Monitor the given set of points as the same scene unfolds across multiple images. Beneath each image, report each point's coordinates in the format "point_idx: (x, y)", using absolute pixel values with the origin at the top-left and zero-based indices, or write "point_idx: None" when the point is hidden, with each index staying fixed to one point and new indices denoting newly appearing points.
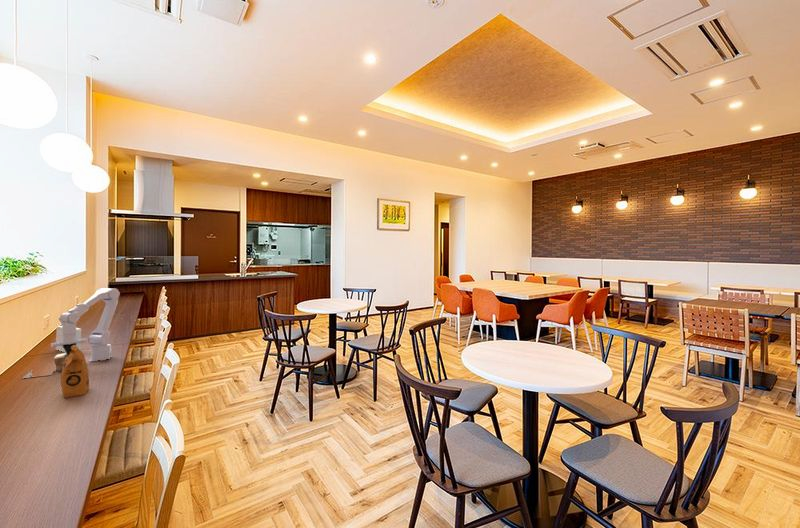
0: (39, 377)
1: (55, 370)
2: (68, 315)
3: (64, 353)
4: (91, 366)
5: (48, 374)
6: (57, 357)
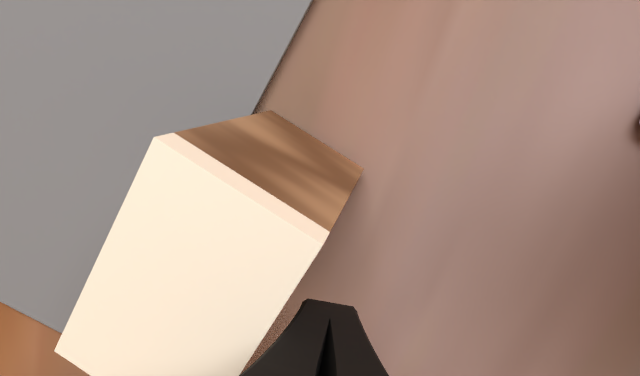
0: (32, 321)
1: None
2: None
3: (266, 247)
4: (521, 367)
5: None
6: (111, 373)
